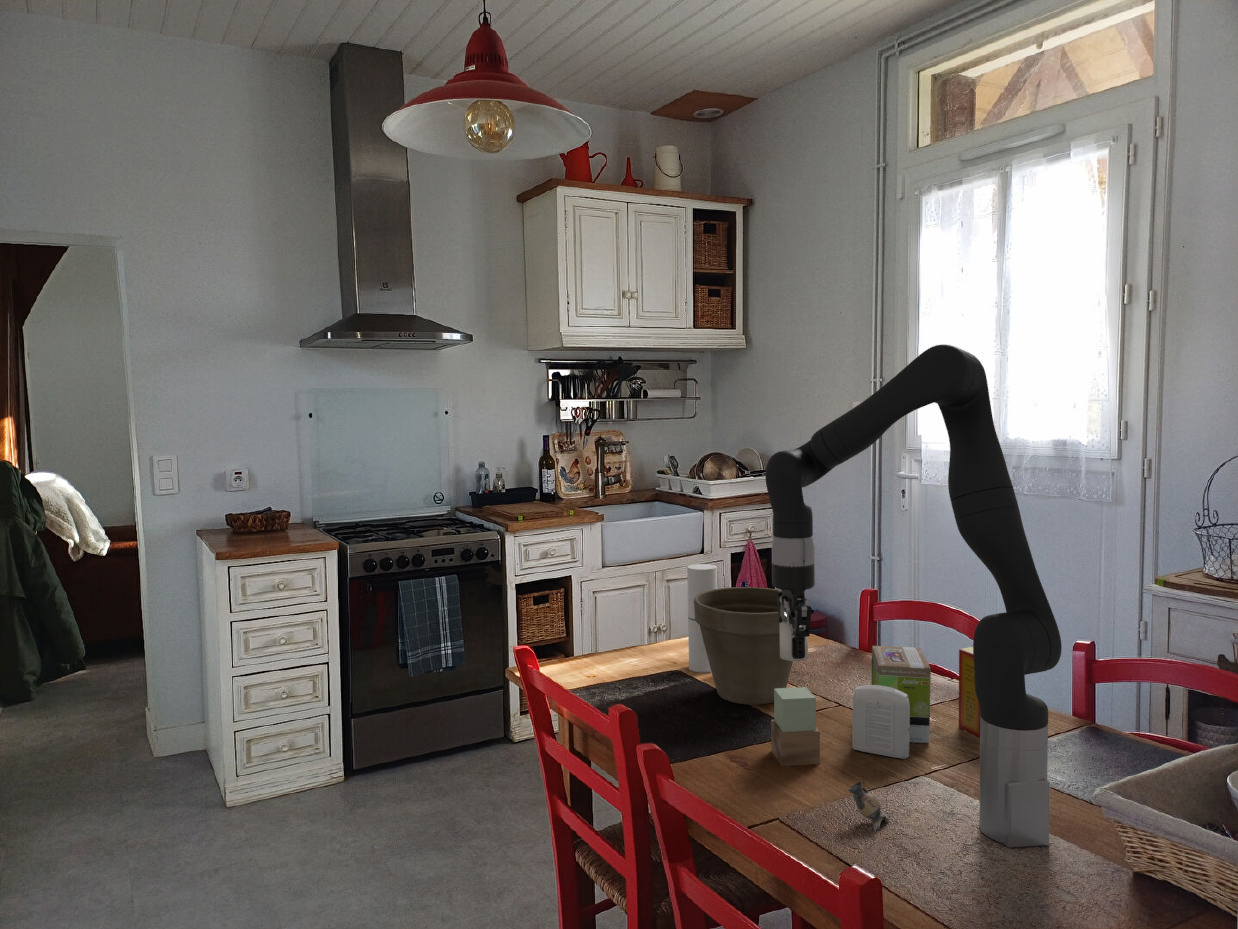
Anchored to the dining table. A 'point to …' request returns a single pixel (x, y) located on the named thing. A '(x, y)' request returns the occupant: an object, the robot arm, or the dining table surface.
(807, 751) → the tower base
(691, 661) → the cylindrical container
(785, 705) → the tower top
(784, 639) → the white cylinder peg
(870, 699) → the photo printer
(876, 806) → the animal figurine
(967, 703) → the baking soda box
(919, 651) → the tea box
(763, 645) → the plant pot
